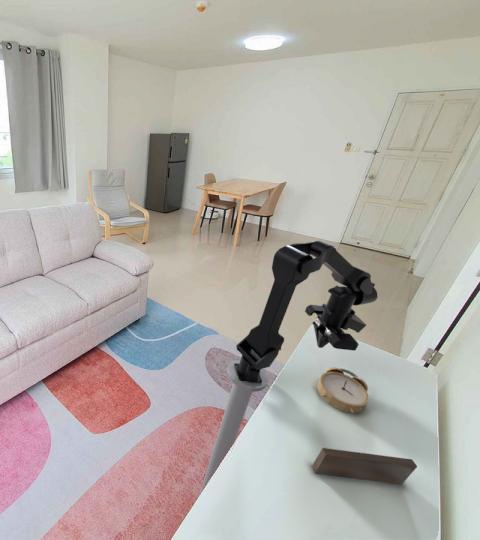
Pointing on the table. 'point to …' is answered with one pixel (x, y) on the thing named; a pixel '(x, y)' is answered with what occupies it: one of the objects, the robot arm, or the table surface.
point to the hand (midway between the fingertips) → (319, 347)
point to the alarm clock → (343, 390)
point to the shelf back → (363, 466)
